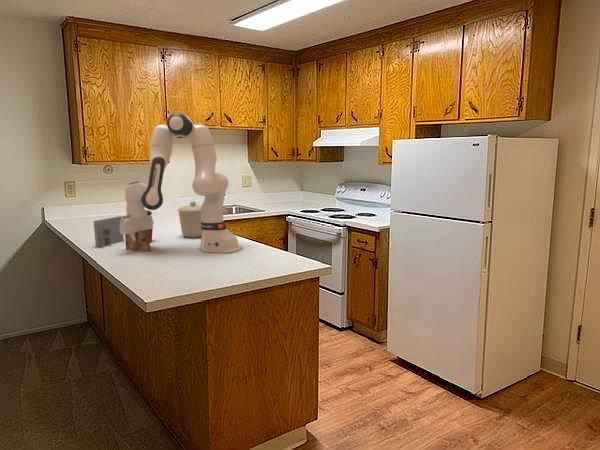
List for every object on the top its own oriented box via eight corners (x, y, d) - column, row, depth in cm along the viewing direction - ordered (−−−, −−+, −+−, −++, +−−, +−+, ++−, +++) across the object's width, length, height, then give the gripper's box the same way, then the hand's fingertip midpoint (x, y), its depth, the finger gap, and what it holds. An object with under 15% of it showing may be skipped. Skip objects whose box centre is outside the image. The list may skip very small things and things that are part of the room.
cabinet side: (128, 241, 254) (126, 216, 252) (103, 247, 238) (101, 221, 235) (121, 240, 256) (119, 216, 254) (95, 246, 240) (93, 220, 237)
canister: (202, 239, 257) (200, 203, 253) (173, 238, 261) (171, 202, 257) (214, 234, 274) (213, 199, 271) (186, 233, 278) (185, 199, 274)
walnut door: (150, 250, 231) (149, 231, 229) (145, 252, 227) (144, 232, 225) (129, 248, 236) (128, 229, 234) (124, 249, 233) (122, 230, 231)
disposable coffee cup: (136, 243, 247) (134, 222, 245) (137, 240, 256) (136, 219, 254) (154, 242, 250) (153, 221, 248) (155, 239, 259) (153, 218, 257)
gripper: (125, 216, 218) (127, 244, 221) (154, 211, 237) (155, 237, 239) (115, 216, 221) (117, 243, 223) (144, 210, 239) (146, 236, 242)
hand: (137, 240), depth 231 cm, fingers closed on walnut door, 2 cm apart
